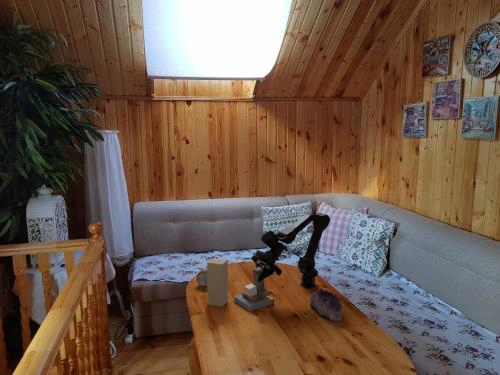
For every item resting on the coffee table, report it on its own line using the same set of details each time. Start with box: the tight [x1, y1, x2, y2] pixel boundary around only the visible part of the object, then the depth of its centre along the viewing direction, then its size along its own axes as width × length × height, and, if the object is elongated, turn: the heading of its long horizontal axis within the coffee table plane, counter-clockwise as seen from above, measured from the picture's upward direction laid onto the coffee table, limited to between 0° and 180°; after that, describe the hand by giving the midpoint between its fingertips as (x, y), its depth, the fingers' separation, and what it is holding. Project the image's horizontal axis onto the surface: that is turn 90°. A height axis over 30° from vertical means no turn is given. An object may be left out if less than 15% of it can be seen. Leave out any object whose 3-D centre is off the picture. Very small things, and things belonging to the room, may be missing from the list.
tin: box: [195, 269, 207, 288], centre depth 213 cm, size 15×3×8 cm, turn 84°
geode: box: [309, 288, 343, 323], centre depth 184 cm, size 20×12×10 cm, turn 20°
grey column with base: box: [241, 267, 270, 303], centre depth 193 cm, size 10×9×13 cm
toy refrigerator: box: [206, 257, 229, 308], centre depth 193 cm, size 8×7×21 cm
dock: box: [233, 293, 275, 312], centre depth 194 cm, size 14×13×3 cm
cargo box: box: [244, 283, 257, 297], centre depth 193 cm, size 4×4×4 cm
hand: (256, 279), depth 194 cm, fingers closed on grey column with base, 3 cm apart
